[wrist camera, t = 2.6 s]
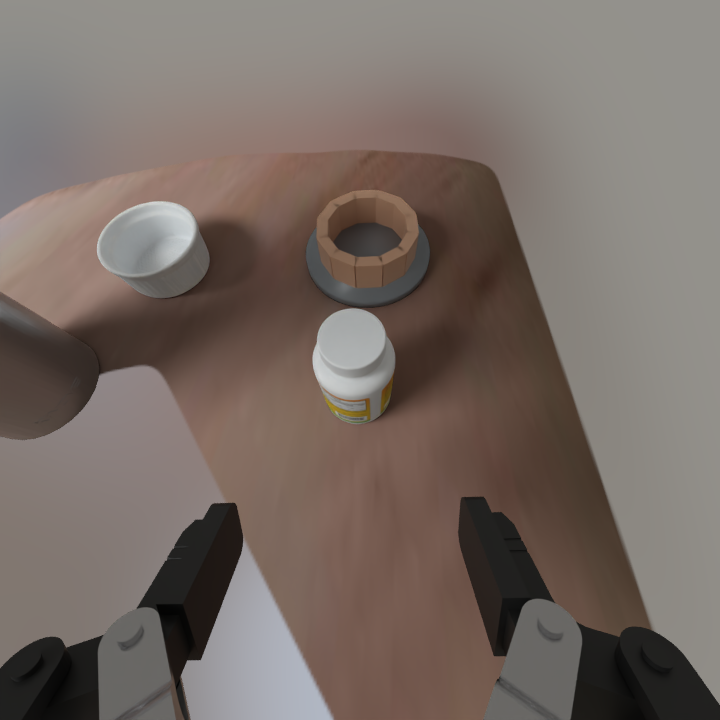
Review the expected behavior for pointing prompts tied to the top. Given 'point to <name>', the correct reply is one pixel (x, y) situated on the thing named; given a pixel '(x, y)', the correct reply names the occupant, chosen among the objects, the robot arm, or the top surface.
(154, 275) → the ramekin
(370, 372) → the supplement bottle
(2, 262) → the top surface
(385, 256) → the holder
